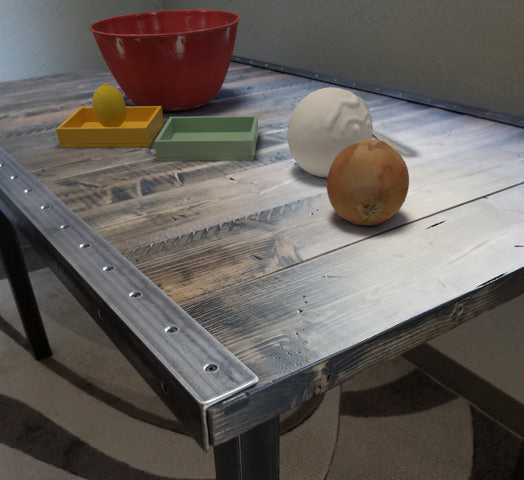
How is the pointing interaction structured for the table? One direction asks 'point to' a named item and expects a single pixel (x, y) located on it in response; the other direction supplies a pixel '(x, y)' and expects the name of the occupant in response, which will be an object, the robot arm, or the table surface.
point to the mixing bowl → (168, 55)
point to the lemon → (109, 106)
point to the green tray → (208, 138)
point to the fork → (385, 140)
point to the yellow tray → (111, 128)
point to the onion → (368, 182)
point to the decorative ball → (327, 128)
